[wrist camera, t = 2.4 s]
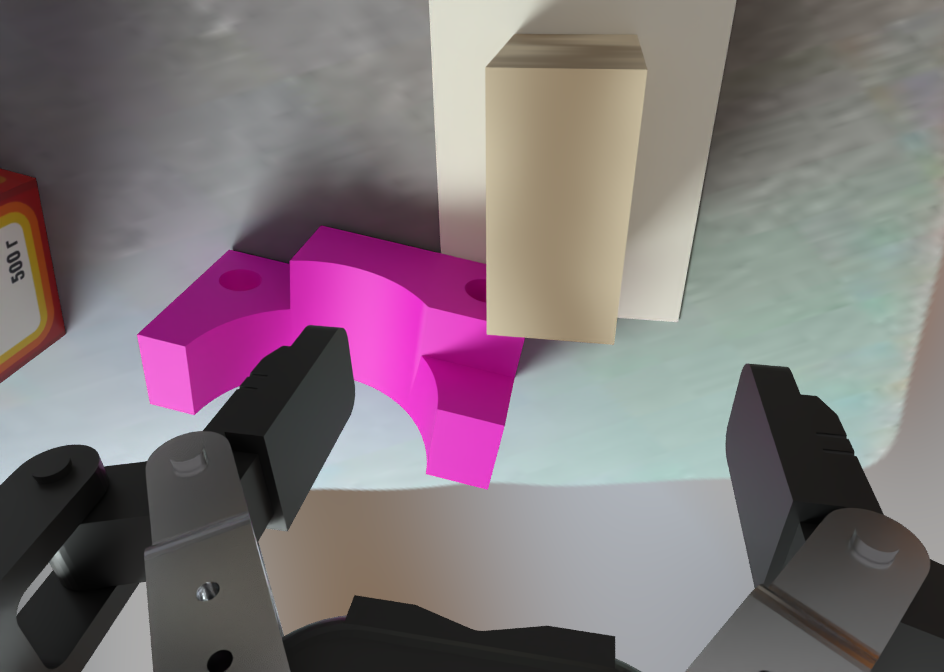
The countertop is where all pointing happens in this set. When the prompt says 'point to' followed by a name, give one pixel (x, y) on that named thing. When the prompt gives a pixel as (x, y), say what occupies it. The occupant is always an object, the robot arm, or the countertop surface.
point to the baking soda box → (25, 276)
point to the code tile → (661, 133)
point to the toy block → (350, 337)
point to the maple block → (560, 182)
